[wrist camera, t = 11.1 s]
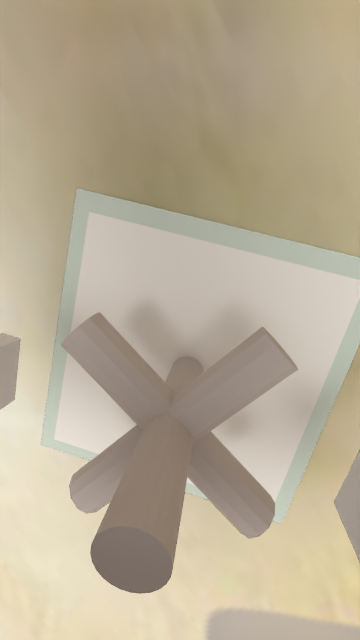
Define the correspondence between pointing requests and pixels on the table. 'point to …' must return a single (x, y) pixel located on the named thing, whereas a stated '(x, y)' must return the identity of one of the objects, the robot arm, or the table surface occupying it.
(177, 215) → the stand
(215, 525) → the table surface
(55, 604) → the table surface
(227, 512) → the pipe connector
